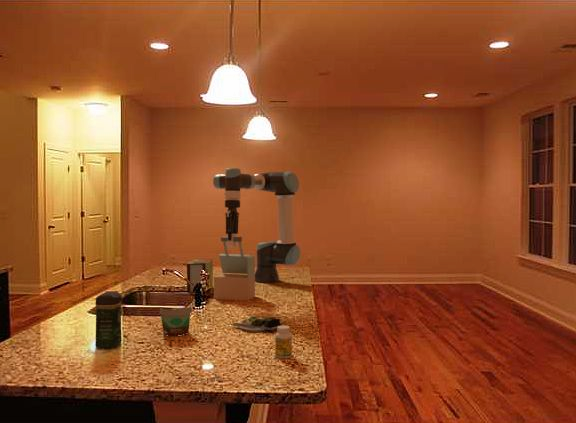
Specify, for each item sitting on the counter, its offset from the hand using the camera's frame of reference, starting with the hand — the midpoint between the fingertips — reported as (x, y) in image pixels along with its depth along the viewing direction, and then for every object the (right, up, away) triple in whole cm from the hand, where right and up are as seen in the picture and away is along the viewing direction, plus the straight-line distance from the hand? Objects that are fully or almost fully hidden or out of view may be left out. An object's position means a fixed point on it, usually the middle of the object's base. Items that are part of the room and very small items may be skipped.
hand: (231, 247), depth 248 cm
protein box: (-20, -25, +25) cm, 41 cm away
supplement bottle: (+26, -30, -85) cm, 94 cm away
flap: (+1, -5, +3) cm, 6 cm away
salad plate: (+18, -29, -50) cm, 60 cm away
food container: (-13, -29, -61) cm, 69 cm away
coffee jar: (-34, -29, -74) cm, 87 cm away
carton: (+1, -26, +5) cm, 26 cm away
